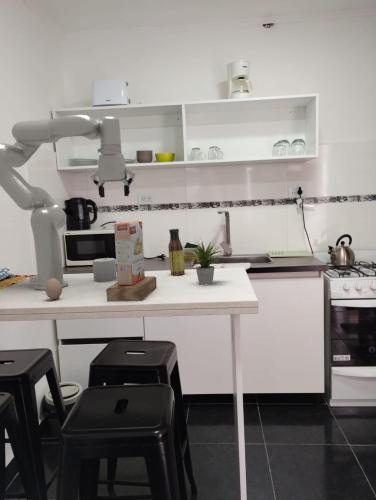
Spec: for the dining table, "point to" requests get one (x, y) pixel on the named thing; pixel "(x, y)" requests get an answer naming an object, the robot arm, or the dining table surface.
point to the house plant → (205, 264)
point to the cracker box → (129, 252)
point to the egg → (53, 289)
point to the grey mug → (104, 270)
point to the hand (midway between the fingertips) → (114, 196)
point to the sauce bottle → (176, 253)
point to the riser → (132, 290)
